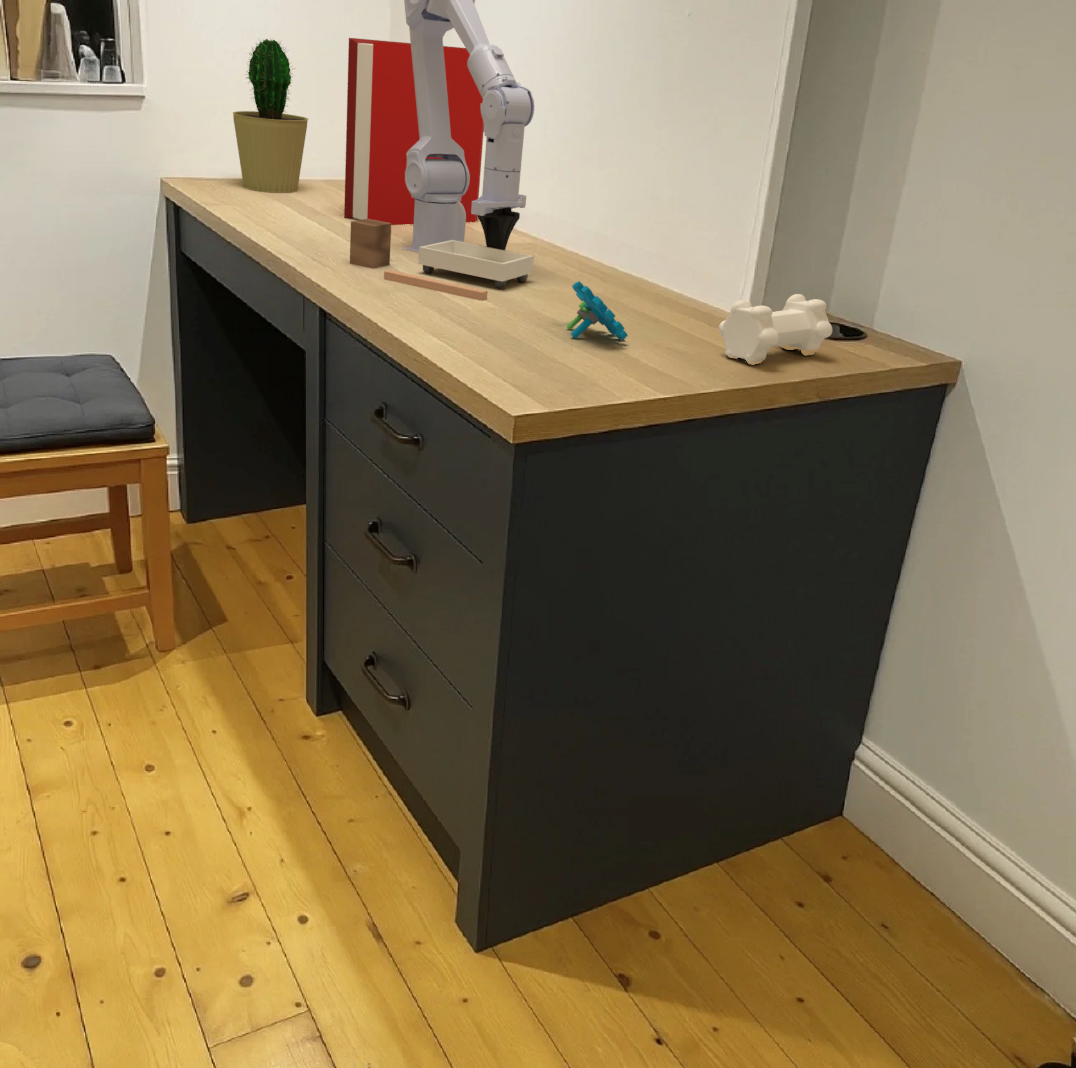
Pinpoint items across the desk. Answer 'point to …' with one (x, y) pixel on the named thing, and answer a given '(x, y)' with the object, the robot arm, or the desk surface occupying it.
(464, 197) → the book
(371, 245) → the walnut block
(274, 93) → the potted cactus
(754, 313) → the white bone
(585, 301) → the gear
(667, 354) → the desk surface
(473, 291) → the thin flat board
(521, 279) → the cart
